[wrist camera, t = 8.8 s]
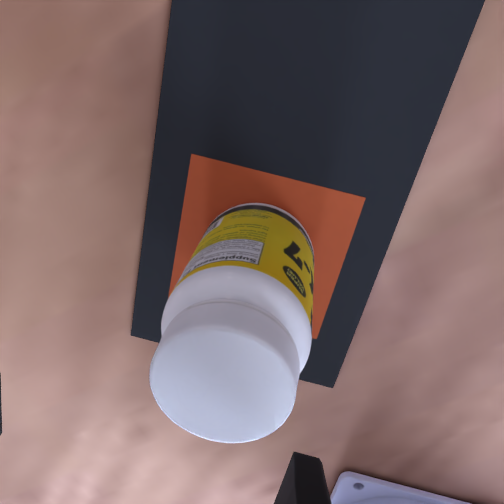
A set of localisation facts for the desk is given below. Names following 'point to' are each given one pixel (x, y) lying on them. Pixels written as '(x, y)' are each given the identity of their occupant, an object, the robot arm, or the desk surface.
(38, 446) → the desk surface
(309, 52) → the place mat
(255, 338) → the supplement bottle
